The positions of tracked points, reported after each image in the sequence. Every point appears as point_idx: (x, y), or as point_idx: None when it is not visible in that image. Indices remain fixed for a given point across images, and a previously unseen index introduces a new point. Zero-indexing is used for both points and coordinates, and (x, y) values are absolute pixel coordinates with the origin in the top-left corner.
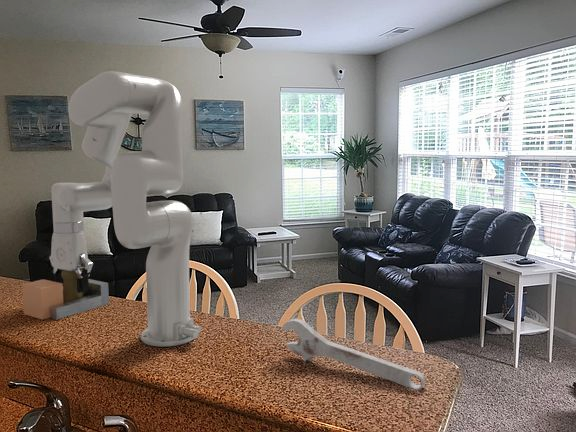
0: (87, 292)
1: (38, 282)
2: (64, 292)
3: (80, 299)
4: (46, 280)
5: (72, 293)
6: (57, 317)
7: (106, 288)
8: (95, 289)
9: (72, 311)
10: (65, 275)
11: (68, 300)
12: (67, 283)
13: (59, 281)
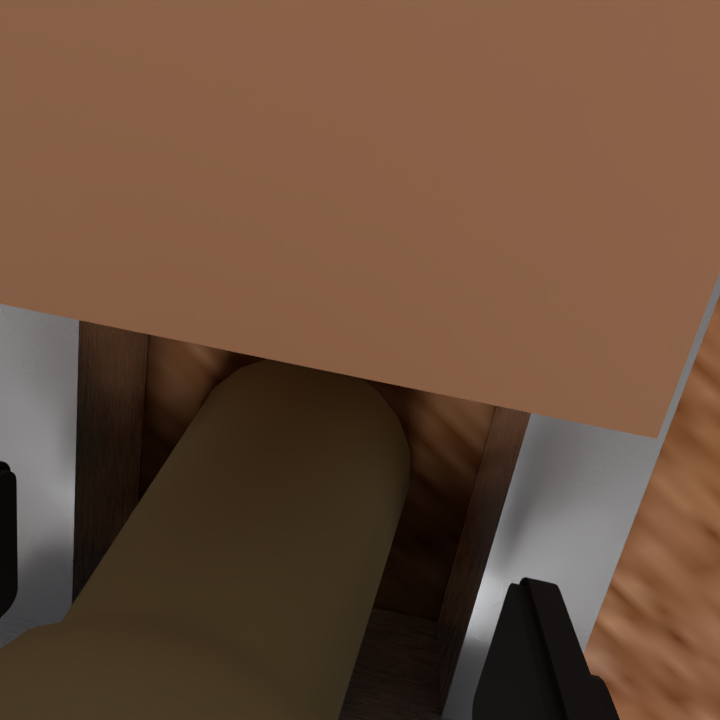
0: None
1: (510, 64)
2: (264, 457)
3: (34, 419)
4: (460, 362)
5: (158, 478)
6: None
7: None
8: None
9: None
10: (29, 680)
11: (228, 407)
12: (150, 561)
13: (515, 691)
